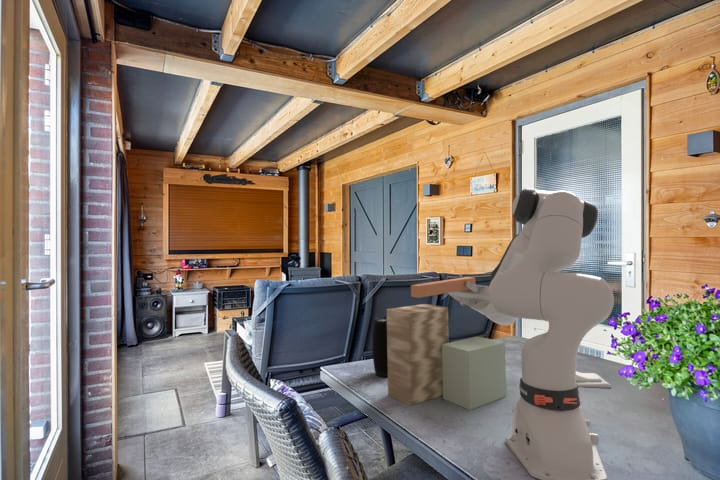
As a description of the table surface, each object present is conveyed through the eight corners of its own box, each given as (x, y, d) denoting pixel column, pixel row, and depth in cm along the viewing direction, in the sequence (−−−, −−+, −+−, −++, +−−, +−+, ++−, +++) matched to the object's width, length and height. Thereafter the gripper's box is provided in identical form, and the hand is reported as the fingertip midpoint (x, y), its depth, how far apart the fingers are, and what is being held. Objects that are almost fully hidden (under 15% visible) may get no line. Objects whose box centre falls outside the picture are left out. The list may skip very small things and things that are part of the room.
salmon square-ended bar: (467, 287, 139) (466, 276, 139) (475, 287, 136) (475, 277, 136) (411, 296, 124) (410, 285, 124) (419, 297, 121) (418, 286, 121)
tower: (426, 383, 131) (425, 303, 131) (449, 392, 123) (448, 307, 123) (388, 394, 122) (386, 309, 122) (410, 405, 114) (408, 313, 114)
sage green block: (478, 386, 128) (477, 336, 128) (506, 396, 119) (505, 342, 119) (443, 398, 118) (442, 344, 119) (470, 409, 110) (468, 351, 110)
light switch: (555, 366, 138) (596, 365, 135) (556, 378, 138) (597, 378, 135) (566, 377, 127) (610, 376, 125) (567, 390, 127) (611, 389, 125)
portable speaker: (400, 378, 137) (399, 320, 137) (373, 378, 137) (372, 320, 137) (398, 369, 146) (397, 315, 146) (372, 370, 146) (371, 316, 146)
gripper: (506, 312, 132) (482, 294, 125) (458, 304, 148) (434, 288, 141) (512, 294, 133) (488, 276, 127) (463, 289, 150) (440, 272, 143)
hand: (459, 282), depth 134 cm, fingers closed on salmon square-ended bar, 3 cm apart
